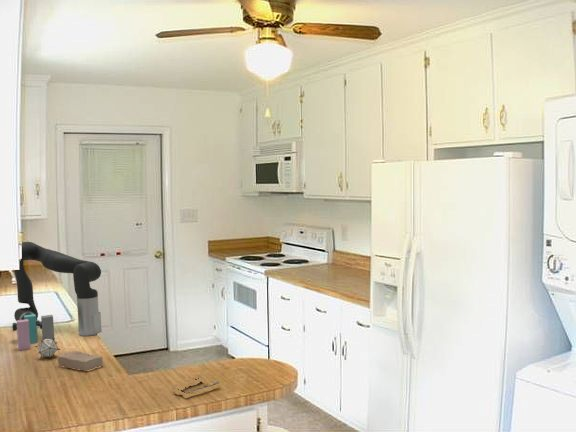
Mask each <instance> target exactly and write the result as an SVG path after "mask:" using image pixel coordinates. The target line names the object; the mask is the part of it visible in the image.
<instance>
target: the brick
mask: <svg viewBox="0 0 576 432" xmlns="http://www.w3.org/2000/svg"><path fill="white" fill-rule="evenodd" d="M103 363H104V361H103V356H101V355H97V354H89V353H86V352H82V351H79V350H72V351H71V350H70V351H68V352H65V353H62V354H61V355H58V356H57V364H58V365H57V366H58V367H60V366H64V367H69V368H75V369H80V370H86V371H87V370H90V369H93V368H95V367H99V366H102V365H103V366H104V364H103Z"/></svg>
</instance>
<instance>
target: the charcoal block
mask: <svg viewBox="0 0 576 432" xmlns="http://www.w3.org/2000/svg"><path fill="white" fill-rule="evenodd" d="M40 319H41V320H40V321H41V322H42V329H41V335H42V336H41V338H42V341H43V340H44V339H45V337H46V339H54V338H55V328H54V327H55V325H54V316H53V314H47V315H41V317H40ZM54 341H55V339H54ZM55 342H56V341H55Z"/></svg>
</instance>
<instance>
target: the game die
mask: <svg viewBox="0 0 576 432" xmlns="http://www.w3.org/2000/svg"><path fill="white" fill-rule="evenodd" d="M55 339H56V338H55V337H54V339H46V337H45V339H44V340H43V339H41V340H40V342H39V344H38V345H35V346H34V347H35V348H37V350H38V353H37V354H38V355H40V359H42V358H43V357H44V358H48V359H49V360H51V357H52V356H55V353H56V352H57V351H60V350H61V349H60V348H59V347H58V346H57V344H58V342H56V341H54V340H55Z"/></svg>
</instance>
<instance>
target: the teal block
mask: <svg viewBox="0 0 576 432" xmlns="http://www.w3.org/2000/svg"><path fill="white" fill-rule="evenodd" d="M25 319H28V321H29V335H30V345H31V344H36V343H38V331H37V330H38V328H37V327H36V315H35V314H31V315H24V320H25Z"/></svg>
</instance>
